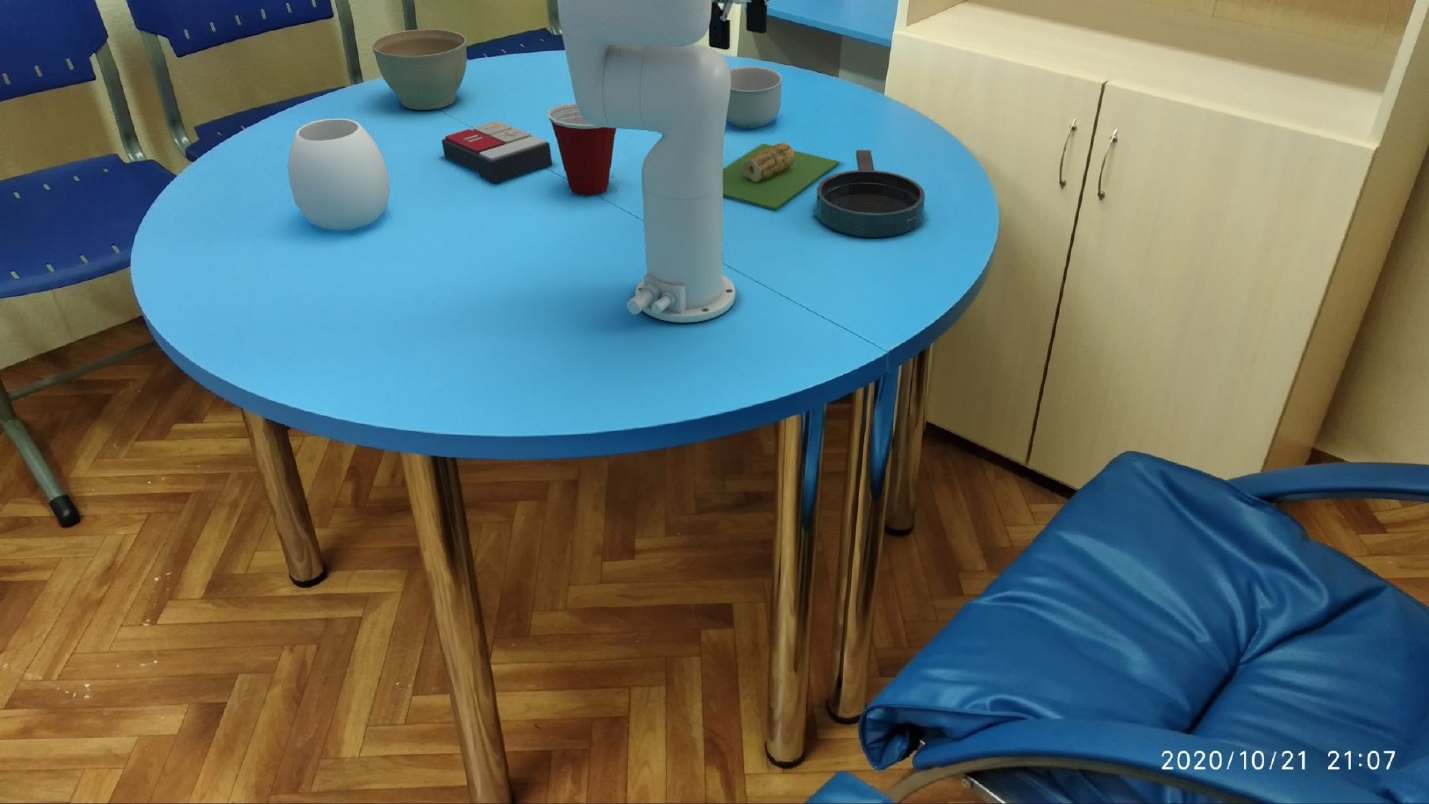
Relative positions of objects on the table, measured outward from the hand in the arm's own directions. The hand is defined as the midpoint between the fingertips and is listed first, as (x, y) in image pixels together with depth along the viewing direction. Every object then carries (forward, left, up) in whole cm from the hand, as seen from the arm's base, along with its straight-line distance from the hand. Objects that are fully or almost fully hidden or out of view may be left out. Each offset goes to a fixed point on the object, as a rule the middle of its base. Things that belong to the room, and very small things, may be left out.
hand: (738, 39), depth 151 cm
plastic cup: (-15, +17, -21) cm, 31 cm away
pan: (-1, -23, -21) cm, 31 cm away
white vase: (-42, +40, -21) cm, 62 cm away
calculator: (-15, +36, -21) cm, 44 cm away
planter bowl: (-1, +65, -21) cm, 68 cm away
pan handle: (+9, -17, -19) cm, 27 cm away
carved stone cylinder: (+3, -4, -21) cm, 21 cm away
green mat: (+3, -4, -21) cm, 22 cm away
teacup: (+21, +12, -21) cm, 32 cm away
